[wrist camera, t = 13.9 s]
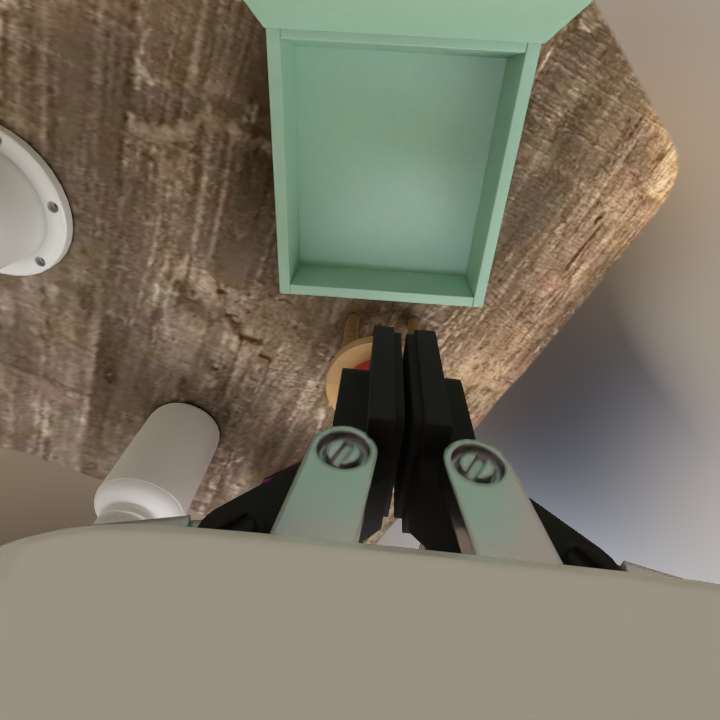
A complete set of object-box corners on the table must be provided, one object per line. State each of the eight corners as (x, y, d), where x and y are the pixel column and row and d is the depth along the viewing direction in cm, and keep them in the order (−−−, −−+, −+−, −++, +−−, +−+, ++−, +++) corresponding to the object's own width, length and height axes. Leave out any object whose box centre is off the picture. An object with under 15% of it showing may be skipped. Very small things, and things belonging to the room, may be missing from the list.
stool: (333, 381, 44) (324, 426, 38) (335, 300, 39) (325, 338, 33) (421, 388, 43) (426, 435, 37) (434, 307, 39) (442, 346, 33)
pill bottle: (201, 464, 51) (139, 586, 38) (139, 429, 49) (52, 548, 36) (235, 426, 48) (179, 548, 35) (170, 387, 45) (85, 503, 33)
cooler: (471, 281, 37) (482, 307, 33) (292, 269, 37) (279, 293, 33) (519, 45, 28) (543, 36, 24) (284, 31, 28) (265, 20, 24)
